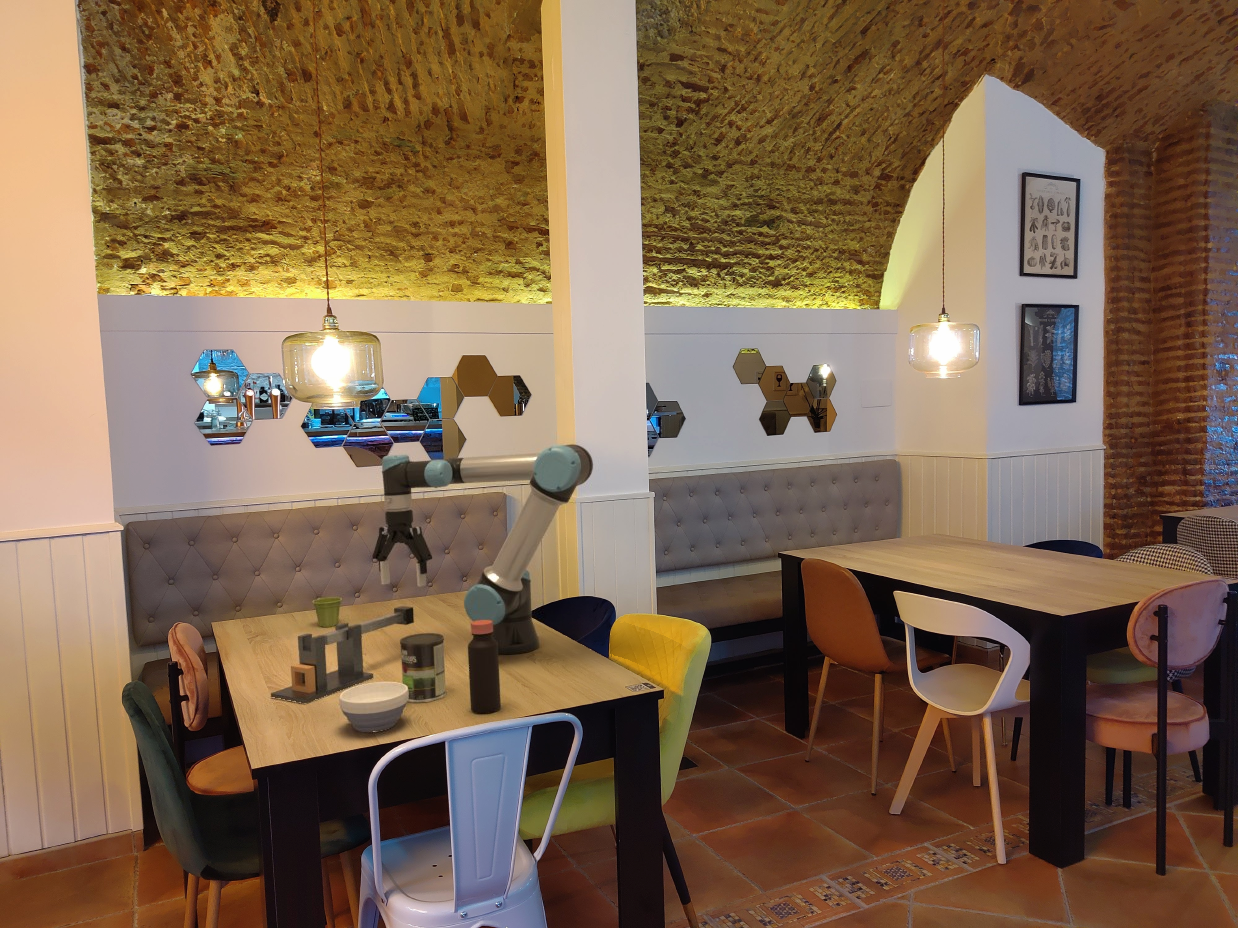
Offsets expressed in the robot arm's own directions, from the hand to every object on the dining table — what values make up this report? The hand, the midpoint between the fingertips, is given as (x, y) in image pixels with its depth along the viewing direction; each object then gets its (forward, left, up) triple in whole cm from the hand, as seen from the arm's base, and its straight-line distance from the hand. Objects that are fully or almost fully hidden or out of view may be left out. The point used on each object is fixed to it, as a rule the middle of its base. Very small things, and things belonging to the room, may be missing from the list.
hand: (403, 584), depth 236 cm
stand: (0, +30, -21) cm, 36 cm away
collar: (0, +36, -20) cm, 41 cm away
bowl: (-33, +45, -21) cm, 59 cm away
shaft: (0, +14, -11) cm, 17 cm away
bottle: (-49, +27, -21) cm, 59 cm away
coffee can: (-29, +25, -21) cm, 43 cm away
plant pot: (+54, -20, -21) cm, 62 cm away
